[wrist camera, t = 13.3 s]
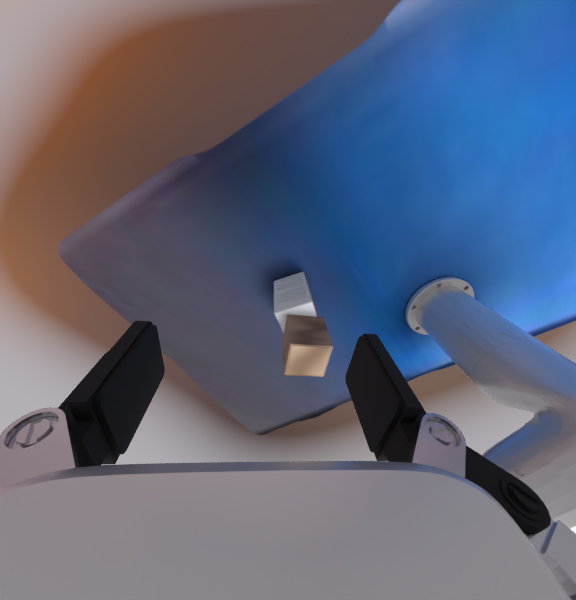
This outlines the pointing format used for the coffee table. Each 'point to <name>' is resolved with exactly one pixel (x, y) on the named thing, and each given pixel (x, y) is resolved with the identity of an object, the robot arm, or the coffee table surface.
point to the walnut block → (306, 346)
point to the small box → (292, 298)
